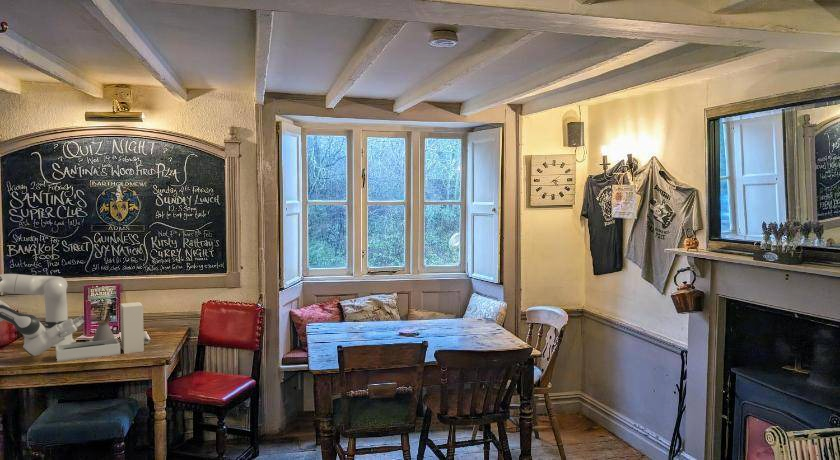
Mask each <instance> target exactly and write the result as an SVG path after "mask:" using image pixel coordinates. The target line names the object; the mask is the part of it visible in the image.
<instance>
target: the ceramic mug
mask: <svg viewBox="0 0 840 460" xmlns="http://www.w3.org/2000/svg"><path fill="white" fill-rule="evenodd" d="M149 343H150V339H149V338H147V334H146V331H144V345H148V344H149Z"/></svg>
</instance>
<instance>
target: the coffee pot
mask: <svg viewBox="0 0 840 460" xmlns="http://www.w3.org/2000/svg"><path fill="white" fill-rule="evenodd" d="M112 316H113V314H112V313H111V312H110V313H108V316H107V317H106V320H105V319H103V320H98V321H97V324H98V326H97V328H96V330H95V333H94V335H93V337H92V340H93V341H101V340H110V339H116V338H115V337H116V336H115V335H114V333H113V331H112V328H111V326H110V325H109V323H110V322H111V321H110V319H111V317H112Z"/></svg>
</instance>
